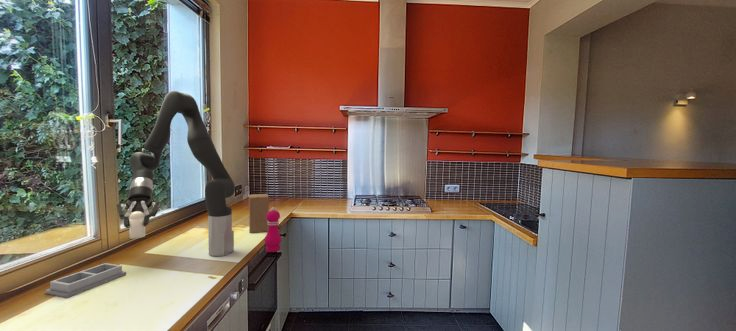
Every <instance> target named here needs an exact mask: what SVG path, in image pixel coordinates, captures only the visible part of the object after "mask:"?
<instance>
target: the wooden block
mask: <svg viewBox="0 0 736 331" xmlns="http://www.w3.org/2000/svg"><path fill="white" fill-rule="evenodd" d="M269 197H270V196H269V194H268V193H261V194H260V193H258V194H255V193H253V194H249V198H248V199H249V200H248V201H249V203H248V204H249V205H248V206H249V208H248V209H249V211H248V212H249V225H248V226H249V228H248V231H249V232H248V233H249V234H255V233H258V234H259V233H267V232H268V224H267V223H268V220H267V218H266V215H267V213H268V212H269V210H270V208H269V207H270V202H269V200H270V198H269Z"/></svg>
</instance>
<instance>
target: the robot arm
mask: <svg viewBox="0 0 736 331" xmlns="http://www.w3.org/2000/svg"><path fill="white" fill-rule="evenodd" d="M177 114H181V115H182V117H183V118H184V120H185V124H186V125H187V136H186V138H187V144H188V147H189V149H190V151H191V154H192V155H193V157H194V158H195V159H196V160H197V162H199V163H200V164H201V165H202V166H203V167H204V168H205V169H206V170H207V171H208V173H209V174H210V175H211V178H212V179H211V180H208V182H207V183H206V185H205V189H204V198H205V208H206V210H207V214H208V215H207V216H208V220H207V221H208V223H207V225H208V229H207V230H208V232H207V233H208V240H207V241H208V243H207V244H208V255H209V256H211V257H221V256H222V257H225V256H226V255H229V254H231V253H233V252H235V245H234V244H235V234H234V233H235V232H234V230H233V224H232V223H233V222H232V221H233V219H232V218H233V214H232V213H233V209H232V207H231V206H229V205H227V200H226V199H227V198H228V199H229V198H230V197H232V196H233V195H234V194H235V191H236V184H235V182H234V181H233V179H232V177H231V175H230V174H229V172H228V171H227V169H226V167H225V166H224V163H223V161H222V159H221V158H220V157H221V156H220V155H219V153H218V151H217V148H216V147H215V146H216V145H215V144H214V141H213V139H212V138H211V136H210V133H209V131H208V130H207V127H206V125H205V123H204V121H203V118H202V115H201V112H200V108H199V107H198V103H197V101H196V99H195V98H194V97H193V96H192V95H190V94H188V93H184V92H181V91H178V90H170V91H169V92H167V94H166V95H165V97H164V99H163V101H162V103H161V107H160V110H159V112H158V116H157V118H156V122H155V124H154V127H153V129H152V131H151V133H150V134H149V135H148V138H147V139H146V140H145V143H144V144H143V147H144V149H145V150H146V151H148V152H150V153H151V154H148V153H145V152H142V151H137V152H134V153H132V155H131V156H130V159H129V164H130V168H131V171H132V172H131V173H132V178H131V183H130V186H129V192H128V197H127V201H126V202H125V203H117V204H116V209H117V213H118V217H119V219H120V220H123V226H124V228H126V229H129V216H130V214H131V213H133V212H135V211H140V212H142V213H144V215H145V217H144V226H145V227H147V226H148V225H149V223H150V218H152V217H153V218H154V217H156V216H157V213H158V211H159V209H160V207H161V203H160V201H153V200H152V198H153V190H154V185H153V184H154V171H156V170H157V169H158V168H159V167H160V163H161V157H162V154H163V151H164V149H165V148H166V146H167V144H168V143H169V141H170V138H171V127H172V126H171V125H172V124H171V123H172V120H173V119H174V117H175V116H176V115H177ZM152 154H153V155H152ZM150 207H152V209H151V212H149V208H150ZM126 208H127V211H126V213H125V214H124V212H123V211H124V210H125V209H126Z"/></svg>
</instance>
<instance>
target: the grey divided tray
mask: <svg viewBox="0 0 736 331" xmlns="http://www.w3.org/2000/svg"><path fill="white" fill-rule="evenodd" d="M125 275H127V271H124V270H123V265H120V264H114V263H108V262H107V263H106V262H104V263H102V264H99V265H96V266H93V267H90V268H86V269H83V270H81V271H77V272H75V273H72V274H69V275H67V276H63V277H60V278H57V279H55V280H54V279H53V280H51V281H49V288H47V289H45V294H47V295H52V296H57V297H62V298H67V299H68V298H70V297H73V296H75V295H77V294H80V293H83V292H86V291H88V290H91V289H93V288H95V287H98V286H101V285H103V284H105V283H108V282H111V281H113V280H115V279H116V280H117V279H118V278H120V277H123V276H125Z"/></svg>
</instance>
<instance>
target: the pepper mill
mask: <svg viewBox="0 0 736 331" xmlns="http://www.w3.org/2000/svg"><path fill="white" fill-rule="evenodd" d="M266 218H267V220H268V223H267V224H268V232H266V235H265V238H264V244H265V245H266V246H265V251H266V252H269V253H276V252H279V251H280V250H281V245H280V244H281V242H282V236H281V234H280V232H279V228H278V227H279V220H280V218H281V215H280V211H278V210H276V207H274V206H272V207H271V208H270V211H269V212H268V213H267V215H266Z"/></svg>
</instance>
